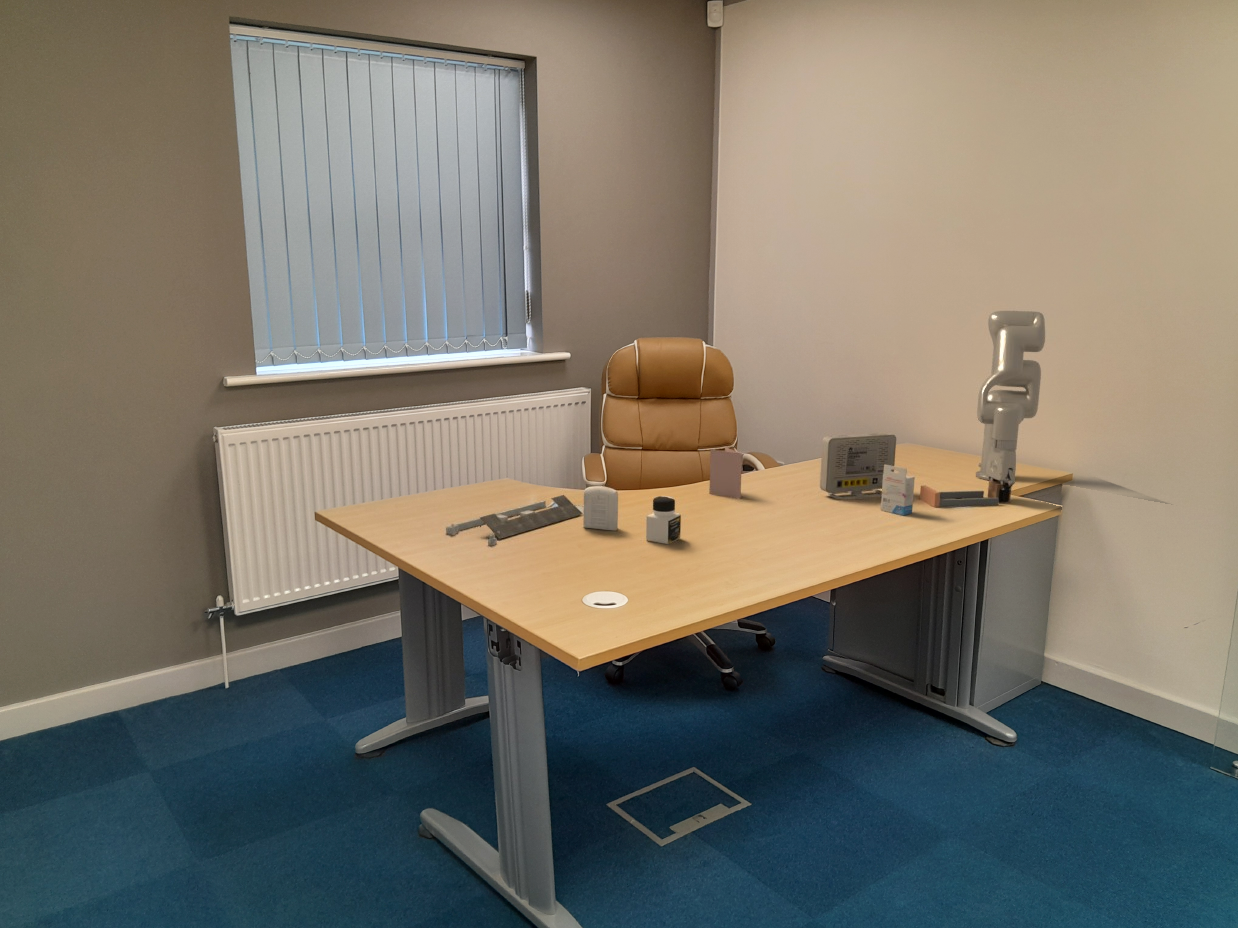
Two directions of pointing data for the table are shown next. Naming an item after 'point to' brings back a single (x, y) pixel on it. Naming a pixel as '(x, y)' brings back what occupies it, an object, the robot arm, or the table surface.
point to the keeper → (995, 490)
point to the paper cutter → (522, 518)
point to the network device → (856, 463)
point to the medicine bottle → (663, 521)
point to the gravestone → (600, 508)
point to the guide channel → (949, 497)
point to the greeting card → (725, 473)
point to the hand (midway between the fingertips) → (998, 498)
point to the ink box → (897, 491)
